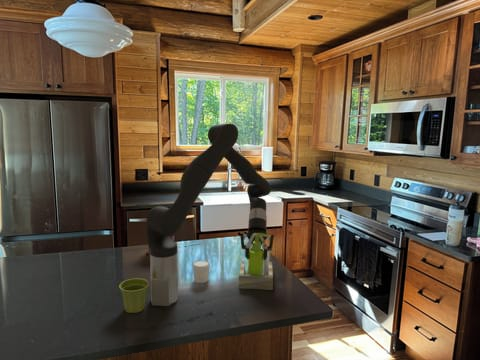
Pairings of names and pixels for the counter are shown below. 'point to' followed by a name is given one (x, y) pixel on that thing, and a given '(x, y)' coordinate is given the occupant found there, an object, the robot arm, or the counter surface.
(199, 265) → the shot glass
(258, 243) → the soap dispenser
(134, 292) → the plant pot
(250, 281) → the shelf
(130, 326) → the counter surface
